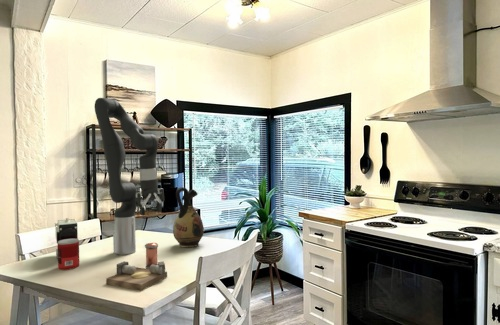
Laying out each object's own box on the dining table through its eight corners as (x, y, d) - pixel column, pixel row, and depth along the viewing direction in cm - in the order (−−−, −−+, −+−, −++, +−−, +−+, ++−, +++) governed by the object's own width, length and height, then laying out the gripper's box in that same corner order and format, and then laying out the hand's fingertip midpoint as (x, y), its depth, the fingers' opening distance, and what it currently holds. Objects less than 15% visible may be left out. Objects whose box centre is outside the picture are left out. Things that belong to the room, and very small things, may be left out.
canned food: (83, 264, 147) (83, 239, 147) (68, 270, 139) (67, 243, 139) (69, 263, 149) (69, 237, 149) (53, 269, 142) (53, 242, 141)
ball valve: (54, 253, 164) (54, 216, 164) (75, 251, 169) (74, 214, 169) (56, 263, 149) (55, 222, 149) (78, 260, 153) (77, 220, 153)
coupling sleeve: (142, 269, 139) (142, 244, 139) (151, 266, 144) (150, 242, 144) (152, 271, 137) (152, 246, 137) (160, 267, 142) (160, 243, 142)
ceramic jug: (191, 240, 188) (191, 185, 188) (210, 245, 177) (209, 186, 177) (164, 246, 176) (163, 187, 175) (182, 251, 165) (181, 189, 165)
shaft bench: (106, 284, 124) (105, 268, 124) (134, 271, 137) (134, 257, 137) (143, 290, 117) (143, 274, 117) (169, 277, 130) (169, 262, 130)
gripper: (156, 175, 165) (158, 209, 167) (130, 179, 154) (132, 215, 156) (166, 176, 161) (168, 211, 162) (139, 180, 150) (142, 217, 151)
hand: (151, 213), depth 159 cm, fingers open, 8 cm apart
